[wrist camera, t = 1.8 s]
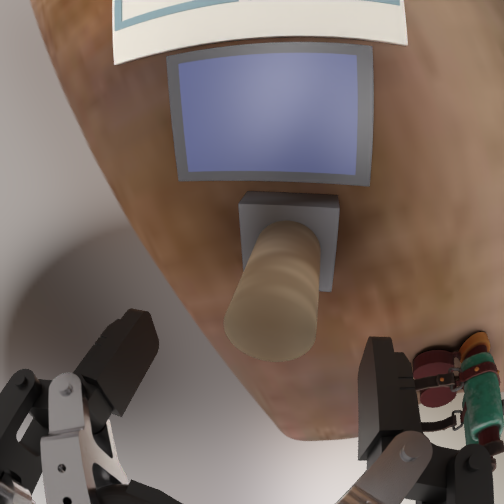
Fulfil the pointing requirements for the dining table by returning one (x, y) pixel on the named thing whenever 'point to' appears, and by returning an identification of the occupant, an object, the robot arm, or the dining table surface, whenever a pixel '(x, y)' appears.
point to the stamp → (282, 272)
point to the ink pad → (273, 112)
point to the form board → (248, 22)
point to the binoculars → (475, 388)
